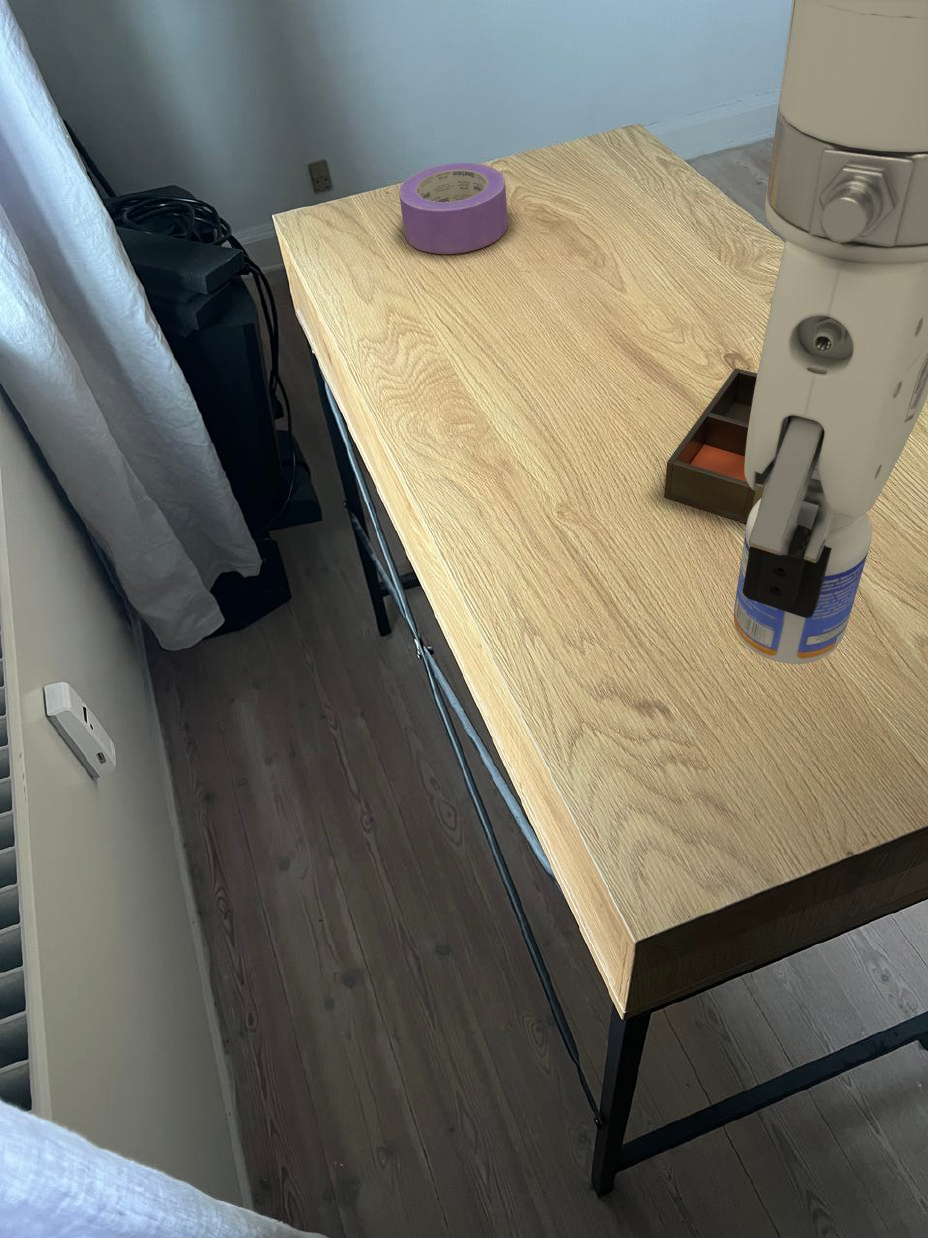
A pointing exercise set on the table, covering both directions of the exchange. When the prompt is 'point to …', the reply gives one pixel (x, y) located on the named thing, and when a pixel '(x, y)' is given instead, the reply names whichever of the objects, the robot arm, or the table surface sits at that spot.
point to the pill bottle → (826, 627)
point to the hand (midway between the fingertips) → (802, 557)
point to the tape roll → (454, 208)
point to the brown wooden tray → (717, 454)
